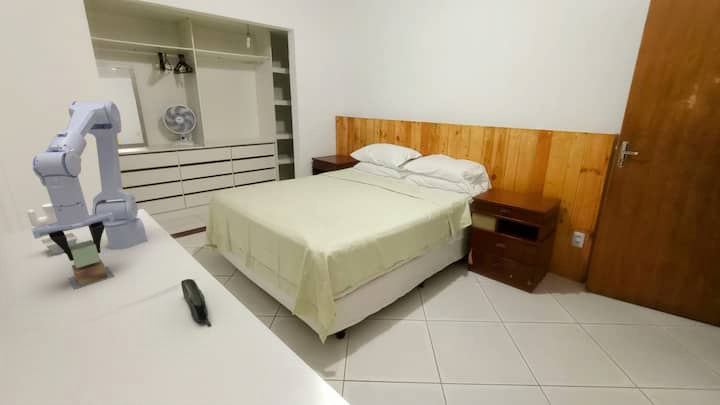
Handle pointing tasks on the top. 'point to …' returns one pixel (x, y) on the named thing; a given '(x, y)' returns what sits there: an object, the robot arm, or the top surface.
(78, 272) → the walnut block
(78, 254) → the green cube
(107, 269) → the base tile
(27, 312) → the top surface
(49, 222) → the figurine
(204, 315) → the dark grey elongated piece
